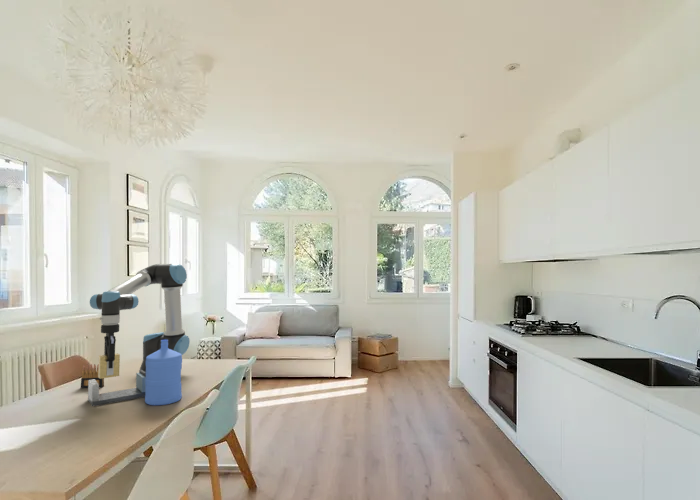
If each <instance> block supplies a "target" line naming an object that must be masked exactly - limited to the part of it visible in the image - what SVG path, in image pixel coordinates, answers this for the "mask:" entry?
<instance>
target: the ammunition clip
mask: <svg viewBox="0 0 700 500" xmlns="http://www.w3.org/2000/svg"><path fill="white" fill-rule="evenodd" d="M98 369H99V363H98V364H97V366H96V364H90V366H89V364H88V363H87V364H86V365H85V364H83V365H82V369H81V370H82V371H81V378H80V379H81V380H80V389H88V380H92V379H95V380H96V381H97V383H98V384H99V387H100V388H104V387H105V378H102V379H99V377H98Z"/></svg>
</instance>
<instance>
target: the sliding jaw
mask: <svg viewBox="0 0 700 500" xmlns="http://www.w3.org/2000/svg"><path fill="white" fill-rule="evenodd" d="M139 372H140V373H139ZM135 375H136V377H135V388H138V389H139V390H140V391H141V392H145V391H146V385H145V379H146V372H144V371H143V370H140V369H139V371H138V372H136V373H135Z"/></svg>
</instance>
